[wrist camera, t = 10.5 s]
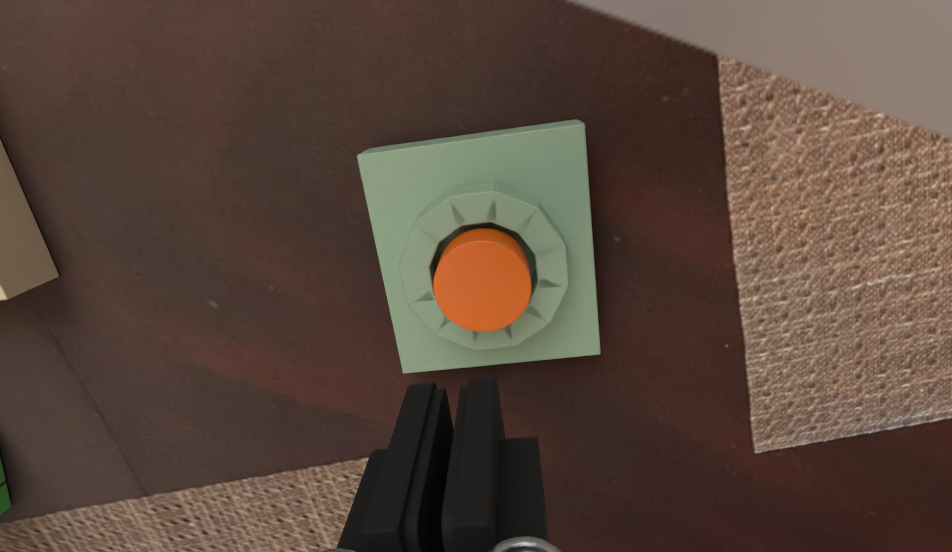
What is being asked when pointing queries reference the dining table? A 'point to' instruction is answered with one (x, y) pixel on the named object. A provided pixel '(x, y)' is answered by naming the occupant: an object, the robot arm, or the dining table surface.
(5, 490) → the puzzle toy
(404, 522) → the robot arm
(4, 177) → the timer panel
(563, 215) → the block
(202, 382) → the dining table surface
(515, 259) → the button
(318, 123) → the dining table surface
